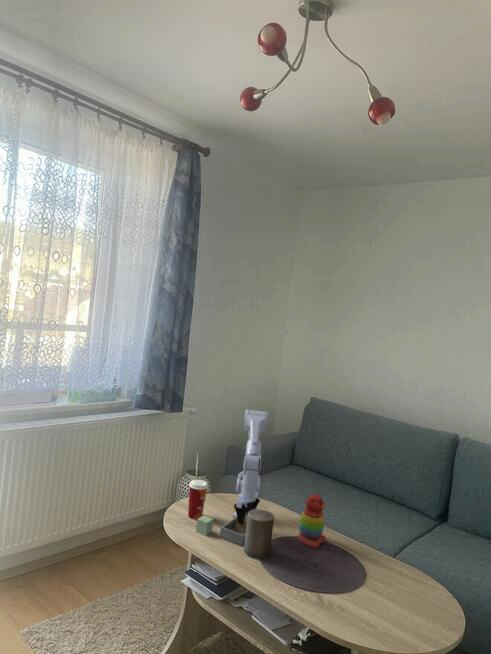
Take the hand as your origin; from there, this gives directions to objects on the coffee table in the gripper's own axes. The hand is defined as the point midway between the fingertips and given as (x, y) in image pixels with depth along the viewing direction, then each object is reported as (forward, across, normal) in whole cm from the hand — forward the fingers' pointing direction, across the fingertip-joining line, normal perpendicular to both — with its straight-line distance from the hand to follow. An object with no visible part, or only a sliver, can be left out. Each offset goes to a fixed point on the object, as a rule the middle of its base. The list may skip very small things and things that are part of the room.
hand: (245, 520), depth 187 cm
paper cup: (+5, +1, -22) cm, 23 cm away
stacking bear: (+5, -13, +23) cm, 27 cm away
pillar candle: (+5, +10, +10) cm, 15 cm away
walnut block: (+4, 0, 0) cm, 4 cm away
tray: (+5, +3, 0) cm, 6 cm away
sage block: (+5, +10, -12) cm, 16 cm away
